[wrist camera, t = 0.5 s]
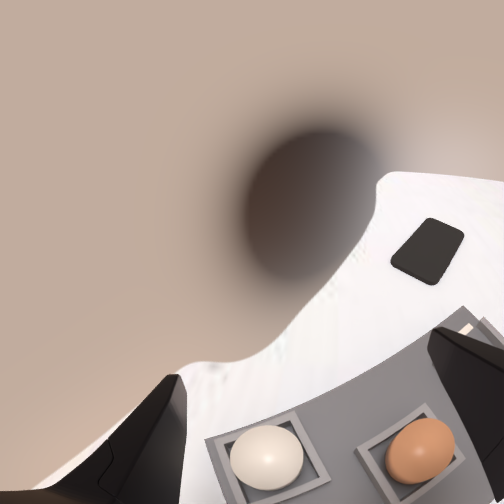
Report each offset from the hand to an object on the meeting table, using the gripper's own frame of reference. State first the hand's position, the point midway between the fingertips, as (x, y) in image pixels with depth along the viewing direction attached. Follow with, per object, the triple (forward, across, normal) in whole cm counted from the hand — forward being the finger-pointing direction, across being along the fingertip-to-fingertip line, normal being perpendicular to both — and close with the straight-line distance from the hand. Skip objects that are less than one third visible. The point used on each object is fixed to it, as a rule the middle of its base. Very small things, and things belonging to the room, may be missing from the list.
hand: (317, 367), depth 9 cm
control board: (+2, -9, +16) cm, 18 cm away
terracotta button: (+1, -8, +12) cm, 14 cm away
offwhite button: (+3, +2, +12) cm, 13 cm away
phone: (+25, -24, +8) cm, 36 cm away
